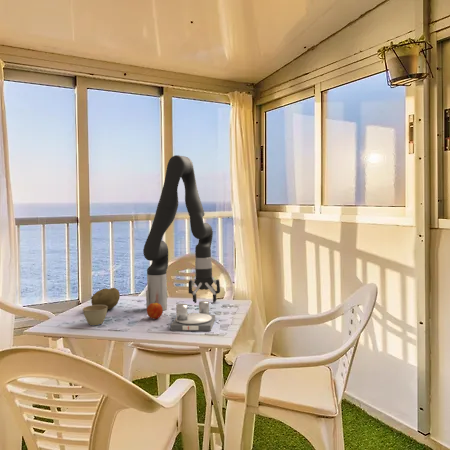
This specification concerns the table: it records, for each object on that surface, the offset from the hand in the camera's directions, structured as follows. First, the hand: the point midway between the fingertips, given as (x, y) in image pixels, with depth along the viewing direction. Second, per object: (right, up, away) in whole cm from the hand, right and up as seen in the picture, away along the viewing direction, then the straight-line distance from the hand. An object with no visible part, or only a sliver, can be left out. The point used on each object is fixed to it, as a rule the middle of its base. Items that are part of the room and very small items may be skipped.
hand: (204, 302), depth 187 cm
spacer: (0, -6, +1) cm, 6 cm away
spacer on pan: (-9, -4, -17) cm, 20 cm away
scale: (-4, -7, -15) cm, 17 cm away
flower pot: (-46, -7, -12) cm, 48 cm away
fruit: (-22, -6, -4) cm, 23 cm away
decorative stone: (-49, -6, +12) cm, 50 cm away
